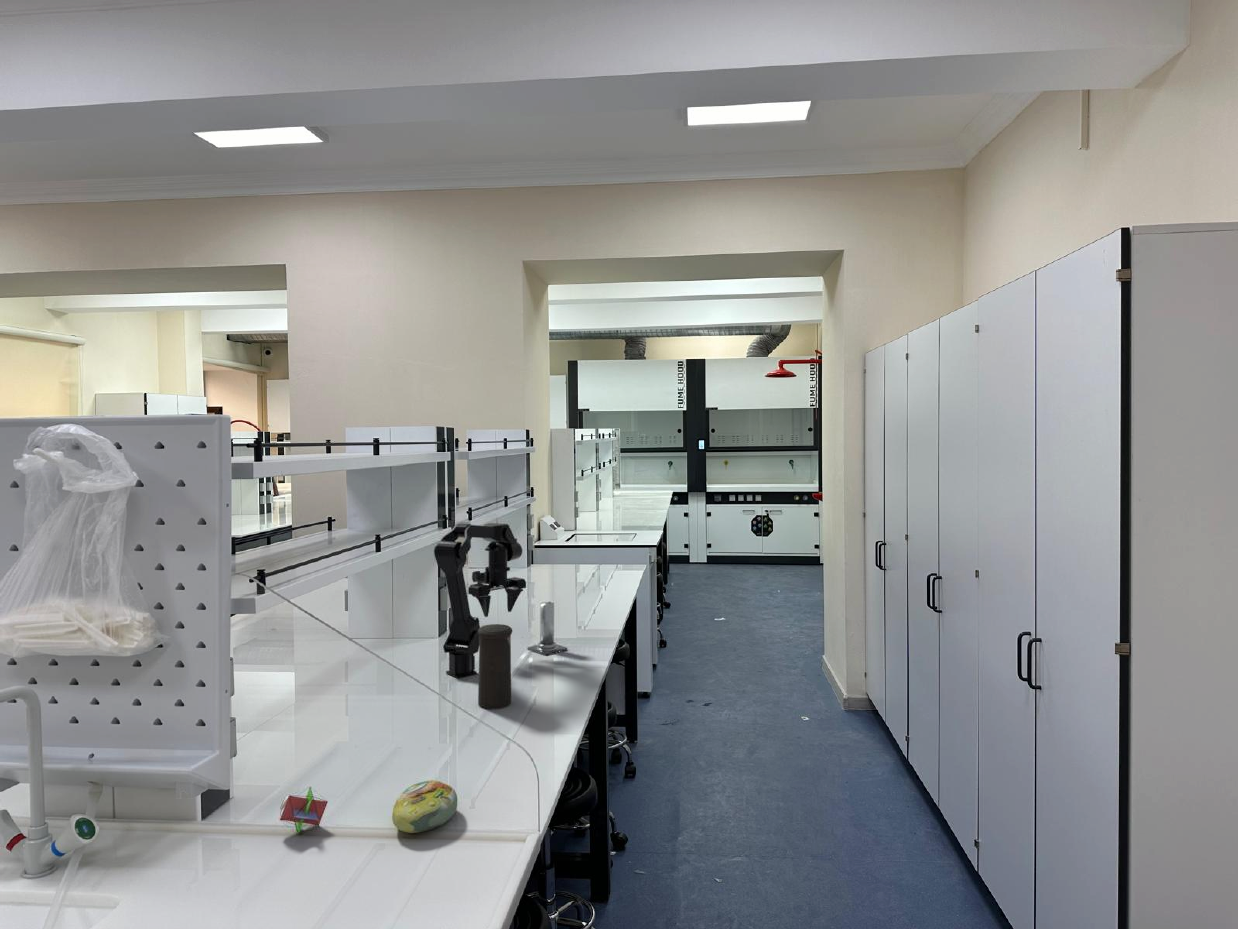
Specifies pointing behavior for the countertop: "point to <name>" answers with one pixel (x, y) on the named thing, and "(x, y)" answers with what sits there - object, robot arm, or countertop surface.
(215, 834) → the countertop surface
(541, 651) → the base plate
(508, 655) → the container
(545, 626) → the sleeve
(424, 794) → the cell model
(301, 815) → the geometric puzzle
